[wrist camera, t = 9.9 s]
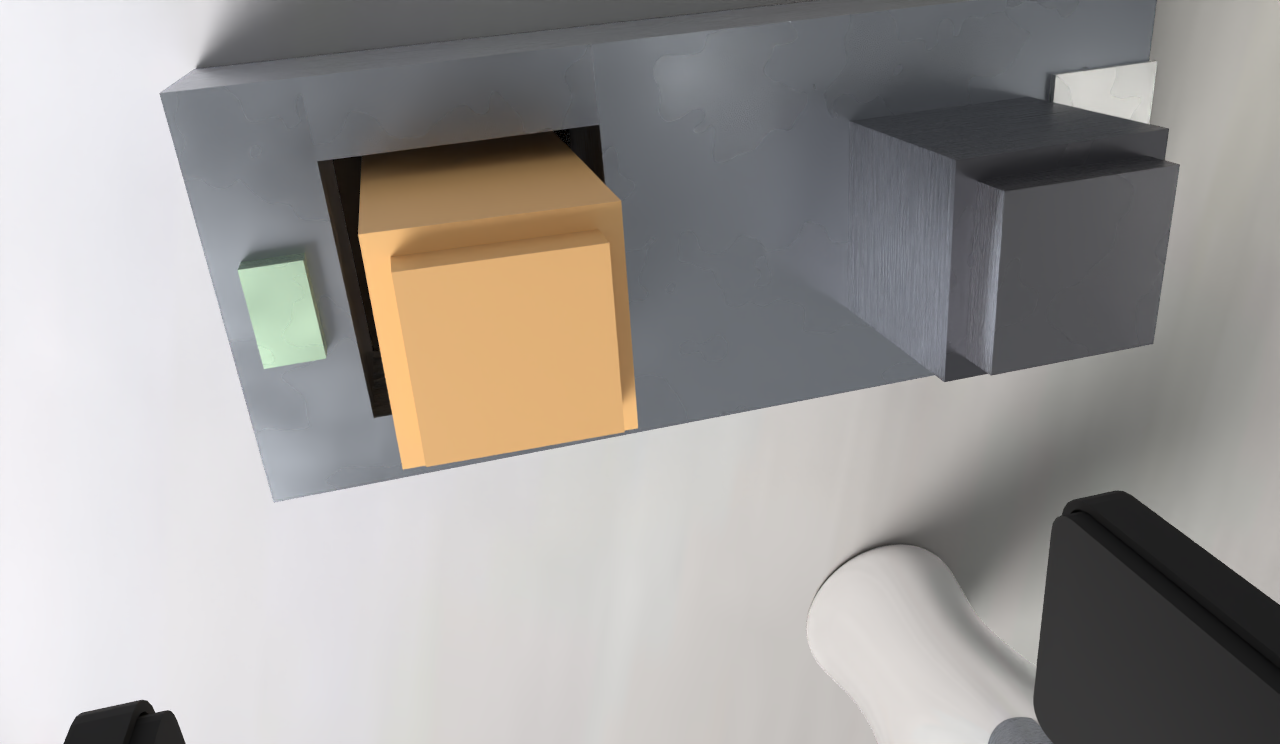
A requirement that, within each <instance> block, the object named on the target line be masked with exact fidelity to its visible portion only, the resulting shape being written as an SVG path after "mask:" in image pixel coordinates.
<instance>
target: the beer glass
mask: <svg viewBox="0 0 1280 744" xmlns="http://www.w3.org/2000/svg"><path fill="white" fill-rule="evenodd" d="M806 636H807V641H808V645H809V648H810V651H811V653H812V655H813V657H814V659H815V660H816V661H817V663H818V664H819V665H820V667H821V668H822V669H823V670H824V671H825V672H826V673H827V674H828V675H829V676H830V677H831V678H832V679H833V680H834V681H835V682H836V683H837V684H838V685H839V686H840V687H841V688H842V689H843V690H844V691H845V692H846V693H847V694H848V695H849V696H850V698H851V699H852V700H853V701H854V702H855V704H856V705H857V706H858V708H859V709H860V711H861V712H862V713H863V715H864V717H865V719H866V720H867V722H868V724H869V726H870V728H871V730H872V732H873V734H874V737H875V739H876V741H877V744H1053V743H1052V742H1051V740H1050V739H1049V738H1048V737H1047V736H1046V734H1045V733H1044V731H1043V730H1042V728H1041V726H1040V724H1039V722H1038V720H1037V717H1036V715H1035V711H1034V706H1033V695H1034V686H1035V677H1036V668H1037V666H1036V665H1035V664H1033V663H1032V662H1031V661H1029V660H1028V659H1026V658H1025V657H1024V656H1022V655H1021V654H1020V653H1018V652H1017V651H1016V650H1014V649H1013V648H1012V647H1011V646H1009V645H1008V644H1007V643H1005V642H1004V641H1003V640H1002V639H1000V638H999V637H998V636H997V635H996V634H995V633H994V632H993V631H992V630H991V629H990V628H989V627H988V626H987V625H986V624H985V623H984V622H983V621H982V620H981V618H980V617H979V616H978V615H977V614H976V612H975V611H974V609H973V608H972V606H971V605H970V603H969V601H968V600H967V598H966V596H965V594H964V592H963V591H962V589H961V587H960V585H959V584H958V582H957V580H956V578H955V577H954V575H953V574H952V572H951V570H950V569H949V568H948V566H947V565H946V564H945V563H944V562H943V561H942V560H941V559H940V558H939V557H938V556H936V555H935V554H933V553H932V552H930V551H928V550H926V549H924V548H921V547H918V546H913V545H906V544H895V545H887V546H882V547H878V548H875V549H872V550H869V551H866V552H864V553H862V554H860V555H858V556H856V557H854V558H853V559H851V560H849V561H848V562H846V563H845V564H844V565H842V566H841V567H840V568H839V569H837V570H836V571H835V572H834V573H833V574H832V575H831V576H830V577H829V578H828V579H827V580H826V582H825V583H824V584H823V585H822V587H821V588H820V590H819V591H818V593H817V594H816V596H815V598H814V600H813V602H812V605H811V607H810V610H809V613H808V617H807V624H806Z"/></svg>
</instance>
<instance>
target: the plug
mask: <svg viewBox="0 0 1280 744" xmlns="http://www.w3.org/2000/svg"><path fill="white" fill-rule="evenodd" d="M358 237H359V242H360V247H361V252H362V258H363V263H364V268H365V273H366V279H367V284H368V289H369V294H370V300H371V305H372V310H373V315H374V321H375V326H376V331H377V336H378V342H379V347H380V352H381V357H382V363H383V368H384V373H385V378H386V384H387V389H388V394H389V399H390V405H391V410H392V415H393V421H394V426H395V431H396V436H397V442H398V447H399V452H400V457H401V463H402V468H403V469H409V468H414V467H420V466H426V467H429V466H435V465H441V464H446V463H452V462H458V461H464V460H469V459H475V458H481V457H486V456H492V455H498V454H503V453H509V452H515V451H520V450H526V449H532V448H538V447H543V446H549V445H555V444H560V443H566V442H572V441H577V440H583V439H589V438H594V437H600V436H606V435H612V434H617V433H623V432H625V430H631V429H637V428H638V419H637V405H636V392H635V378H634V365H633V351H632V338H631V325H630V311H629V298H628V284H627V271H626V257H625V244H624V231H623V217H622V204H621V200H620V199H619V198H618V197H617V196H616V195H615V194H614V193H613V192H612V191H611V190H610V189H609V188H608V187H607V186H606V185H605V184H604V183H603V182H602V181H601V180H600V179H599V178H598V177H597V176H596V175H595V174H594V173H593V171H592V170H591V169H590V168H589V167H588V166H587V165H586V164H585V163H584V162H583V161H582V160H581V159H580V158H579V157H578V156H577V155H576V154H575V153H574V152H573V151H572V150H571V149H570V148H569V147H568V146H567V145H566V144H565V143H564V142H563V141H562V140H561V139H560V138H559V137H558V136H557V135H556V134H555V133H554V132H553V131H547V132H539V133H531V134H524V135H516V136H508V137H501V138H493V139H485V140H478V141H470V142H462V143H455V144H447V145H439V146H432V147H424V148H416V149H408V150H401V151H393V152H385V153H378V154H370V155H362V162H361V183H360V205H359V226H358Z"/></svg>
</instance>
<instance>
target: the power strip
mask: <svg viewBox="0 0 1280 744" xmlns="http://www.w3.org/2000/svg"><path fill="white" fill-rule="evenodd" d="M1156 2H1157V0H816V1H807V2H798V3H789V4H780V5H771V6H762V7H753V8H744V9H734V10H725V11H716V12H707V13H698V14H689V15H680V16H671V17H662V18H653V19H644V20H635V21H626V22H617V23H607V24H598V25H589V26H580V27H571V28H562V29H553V30H544V31H535V32H526V33H517V34H508V35H499V36H490V37H481V38H471V39H462V40H453V41H444V42H435V43H426V44H417V45H408V46H399V47H390V48H381V49H372V50H363V51H354V52H345V53H335V54H326V55H317V56H308V57H299V58H290V59H281V60H272V61H263V62H254V63H245V64H236V65H227V66H218V67H208V68H199V69H194V70H192V71H191V72H189V73H188V74H186V75H185V76H184V77H182V78H181V79H179V80H178V81H176V82H175V83H174V84H172V85H171V86H169V87H168V88H166V89H165V90H163V91H162V92H161V93H160V97H161V100H162V104H163V107H164V111H165V115H166V118H167V122H168V125H169V129H170V133H171V136H172V140H173V143H174V147H175V150H176V154H177V158H178V161H179V165H180V168H181V172H182V175H183V179H184V183H185V186H186V190H187V193H188V197H189V201H190V204H191V208H192V211H193V215H194V218H195V222H196V226H197V229H198V233H199V236H200V240H201V243H202V247H203V251H204V254H205V258H206V261H207V265H208V269H209V272H210V276H211V279H212V283H213V286H214V290H215V294H216V297H217V301H218V304H219V308H220V311H221V315H222V319H223V322H224V326H225V329H226V333H227V337H228V340H229V344H230V347H231V351H232V354H233V358H234V362H235V365H236V369H237V372H238V376H239V379H240V383H241V387H242V390H243V394H244V397H245V401H246V405H247V408H248V412H249V415H250V419H251V422H252V426H253V430H254V433H255V437H256V440H257V444H258V447H259V451H260V455H261V458H262V462H263V465H264V469H265V473H266V476H267V480H268V483H269V487H270V490H271V494H272V498H273V501H274V502H278V501H284V500H289V499H294V498H299V497H304V496H310V495H315V494H320V493H325V492H330V491H336V490H341V489H346V488H351V487H356V486H361V485H367V484H372V483H377V482H382V481H387V480H393V479H398V478H403V477H408V476H413V475H419V474H424V473H429V472H434V471H439V470H444V469H450V468H455V467H460V466H465V465H470V464H476V463H481V462H486V461H491V460H496V459H502V458H507V457H512V456H517V455H522V454H528V453H533V452H538V451H543V450H548V449H553V448H559V447H564V446H569V445H574V444H579V443H585V442H590V441H595V440H600V439H605V438H611V437H616V436H621V435H626V434H631V433H637V432H642V431H647V430H652V429H657V428H662V427H668V426H673V425H678V424H683V423H688V422H694V421H699V420H704V419H709V418H714V417H720V416H725V415H730V414H735V413H740V412H746V411H751V410H756V409H761V408H766V407H771V406H777V405H782V404H787V403H792V402H797V401H803V400H808V399H813V398H818V397H823V396H829V395H834V394H839V393H844V392H849V391H855V390H860V389H865V388H870V387H875V386H880V385H886V384H891V383H896V382H901V381H906V380H912V379H917V378H922V377H927V376H932V375H936V376H937V377H939V378H940V379H941V380H942V381H944V382H947V381H953V380H958V379H963V378H968V377H973V376H978V375H983V374H990V375H996V374H1001V373H1006V372H1011V371H1016V370H1021V369H1026V368H1032V367H1037V366H1042V365H1047V364H1052V363H1057V362H1062V361H1067V360H1073V359H1078V358H1083V357H1088V356H1093V355H1098V354H1103V353H1108V352H1114V351H1119V350H1124V349H1129V348H1134V347H1139V346H1144V345H1149V344H1153V342H1154V335H1155V328H1156V322H1157V315H1158V308H1159V301H1160V295H1161V288H1162V281H1163V274H1164V268H1165V261H1166V254H1167V247H1168V241H1169V234H1170V227H1171V220H1172V214H1173V207H1174V200H1175V193H1176V187H1177V180H1178V173H1179V166H1180V164H1176V163H1172V162H1169V161H1165V153H1166V146H1167V139H1168V132H1169V129H1168V128H1164V127H1160V126H1155V125H1151V124H1149V123H1150V115H1151V108H1152V100H1153V93H1154V85H1155V78H1156V70H1157V63H1158V61H1149V57H1150V49H1151V41H1152V33H1153V26H1154V18H1155V10H1156ZM562 129H569V135H570V144H571V150H572V151H573V152H574V153H575V154H576V155H577V156H578V157H579V158H580V159H581V160H582V161H583V162H584V163H585V164H586V165H587V166H588V167H589V168H590V169H591V170H592V171H593V173H594V174H595V175H596V176H597V177H598V178H599V179H600V180H601V181H602V182H603V183H604V184H605V185H606V186H607V187H608V188H609V189H610V190H611V191H612V192H613V193H614V194H615V195H616V196H617V197H618V198H619V199H620V200H621V204H622V217H623V231H624V244H625V257H626V271H627V284H628V298H629V311H630V325H631V338H632V351H633V365H634V378H635V392H636V405H637V419H638V428H637V429H631V430H625V432H623V433H617V434H612V435H606V436H600V437H594V438H589V439H583V440H577V441H572V442H566V443H560V444H555V445H549V446H543V447H538V448H532V449H526V450H520V451H515V452H509V453H503V454H498V455H492V456H486V457H481V458H475V459H469V460H464V461H458V462H452V463H446V464H441V465H435V466H429V467H426V466H420V467H414V468H409V469H403V468H402V463H401V457H400V452H399V447H398V442H397V436H396V431H395V426H394V421H393V415H392V410H391V405H390V399H389V394H388V389H387V384H386V378H385V373H384V368H383V363H382V357H381V352H380V350H379V351H373V348H372V343H371V338H370V334H369V329H368V324H367V320H366V315H365V310H364V306H363V301H362V296H361V292H360V287H359V282H358V278H357V273H356V268H355V263H354V259H353V254H352V249H351V245H350V240H349V235H348V231H347V226H346V221H345V217H344V212H343V207H342V203H341V198H340V193H339V189H338V184H337V179H336V175H335V170H334V165H333V160H332V159H339V158H347V157H355V156H362V155H370V154H378V153H385V152H393V151H401V150H408V149H416V148H424V147H432V146H439V145H447V144H455V143H462V142H470V141H478V140H485V139H493V138H501V137H508V136H516V135H524V134H531V133H539V132H547V131H554V130H562Z"/></svg>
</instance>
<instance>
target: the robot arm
mask: <svg viewBox="0 0 1280 744" xmlns="http://www.w3.org/2000/svg"><path fill="white" fill-rule="evenodd" d="M1033 706H1034V711H1035V715H1036V717H1037V720H1038V722H1039V724H1040V726H1041V728H1042V730H1043V731H1044V733H1045V734H1046V736H1047V737H1048V738H1049V739H1050V740H1051V742H1052V743H1053V744H1280V605H1279V604H1278V603H1276V602H1275V601H1274V600H1272V599H1271V598H1270V597H1268V596H1267V595H1265V594H1264V593H1263V592H1261V591H1260V590H1259V589H1257V588H1256V587H1255V586H1253V585H1252V584H1251V583H1249V582H1248V581H1247V580H1245V579H1244V578H1242V577H1241V576H1240V575H1238V574H1237V573H1236V572H1234V571H1233V570H1232V569H1230V568H1229V567H1228V566H1226V565H1225V564H1224V563H1222V562H1221V561H1220V560H1218V559H1217V558H1215V557H1214V556H1213V555H1211V554H1210V553H1209V552H1207V551H1206V550H1205V549H1203V548H1202V547H1201V546H1199V545H1198V544H1197V543H1195V542H1194V541H1192V540H1191V539H1190V538H1188V537H1187V536H1186V535H1184V534H1183V533H1182V532H1180V531H1179V530H1178V529H1176V528H1175V527H1174V526H1172V525H1171V524H1169V523H1168V522H1167V521H1165V520H1164V519H1163V518H1161V517H1160V516H1159V515H1157V514H1156V513H1155V512H1153V511H1152V510H1151V509H1149V508H1148V507H1147V506H1145V505H1144V504H1142V503H1141V502H1140V501H1138V500H1137V499H1136V498H1134V497H1133V496H1132V495H1130V494H1128V493H1126V492H1124V491H1112V492H1107V493H1103V494H1098V495H1093V496H1089V497H1084V498H1079V499H1075V500H1072V501H1070V502H1068V503H1067V505H1066V506H1065V508H1064V510H1063V513H1062V516H1060V517H1058V518H1056V519H1055V521H1054V522H1053V526H1052V531H1051V540H1050V549H1049V558H1048V568H1047V577H1046V586H1045V595H1044V604H1043V613H1042V622H1041V631H1040V640H1039V649H1038V659H1037V668H1036V677H1035V686H1034V695H1033ZM64 744H185V741H184V738H183V735H182V733H181V730H180V727H179V725H178V722H177V720H176V718H175V715H174V714H173V713H172V712H171V711H168V710H167V711H162V712H157V713H155V711H154V709H153V707H152V705H151V704H150V703H149V702H148V701H146V700H139V701H134V702H130V703H125V704H120V705H116V706H111V707H107V708H102V709H97V710H93V711H88V712H83V713H81V714H79V715H78V716H76V718H75V719H74V721H73V723H72V725H71V727H70V729H69V732H68V734H67V737H66V739H65V742H64Z"/></svg>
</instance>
